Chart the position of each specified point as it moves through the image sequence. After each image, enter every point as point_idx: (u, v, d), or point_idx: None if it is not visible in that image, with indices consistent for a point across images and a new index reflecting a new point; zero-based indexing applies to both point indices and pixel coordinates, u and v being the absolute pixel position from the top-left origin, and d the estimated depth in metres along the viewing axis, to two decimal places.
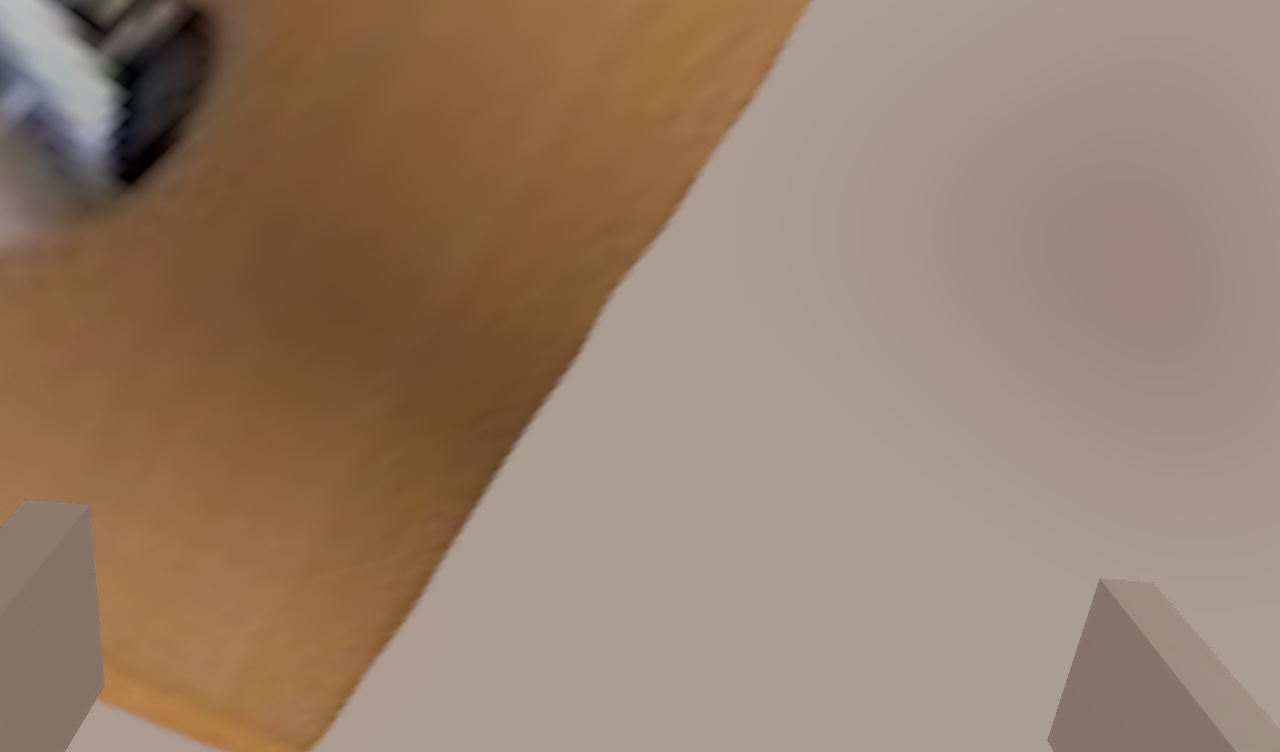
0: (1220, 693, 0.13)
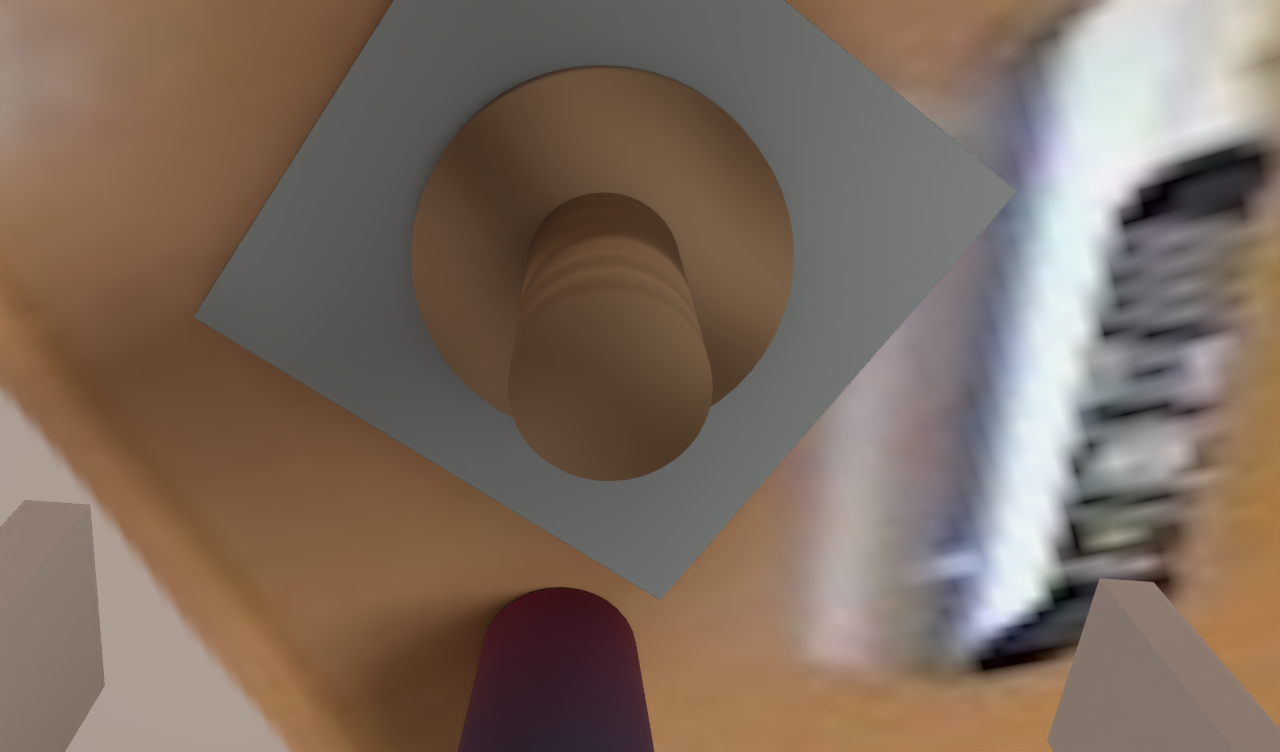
0: (1220, 693, 0.13)
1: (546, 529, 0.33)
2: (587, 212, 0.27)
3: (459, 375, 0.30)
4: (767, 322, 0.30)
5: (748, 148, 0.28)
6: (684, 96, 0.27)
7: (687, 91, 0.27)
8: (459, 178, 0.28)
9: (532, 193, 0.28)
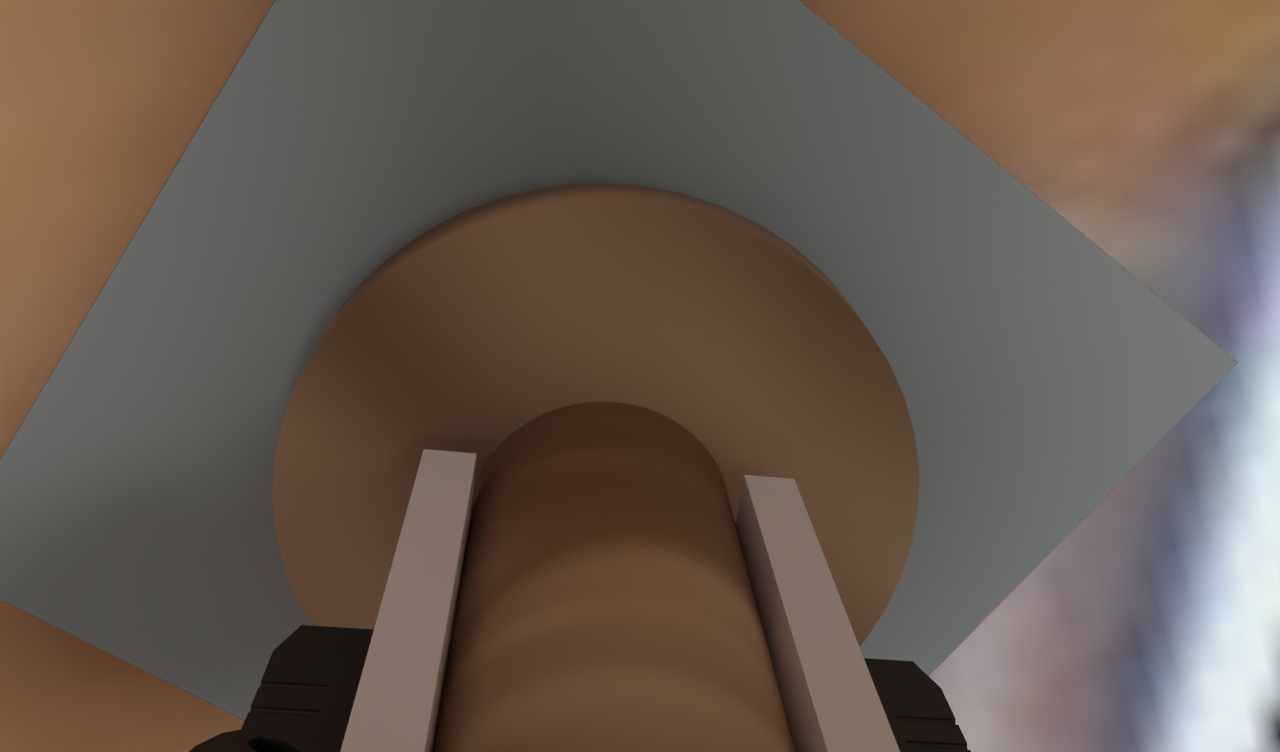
0: (798, 562, 0.14)
1: None
2: (572, 461, 0.15)
3: None
4: (870, 596, 0.18)
5: (849, 328, 0.16)
6: (741, 244, 0.16)
7: (747, 236, 0.16)
8: (351, 381, 0.16)
9: (478, 404, 0.16)
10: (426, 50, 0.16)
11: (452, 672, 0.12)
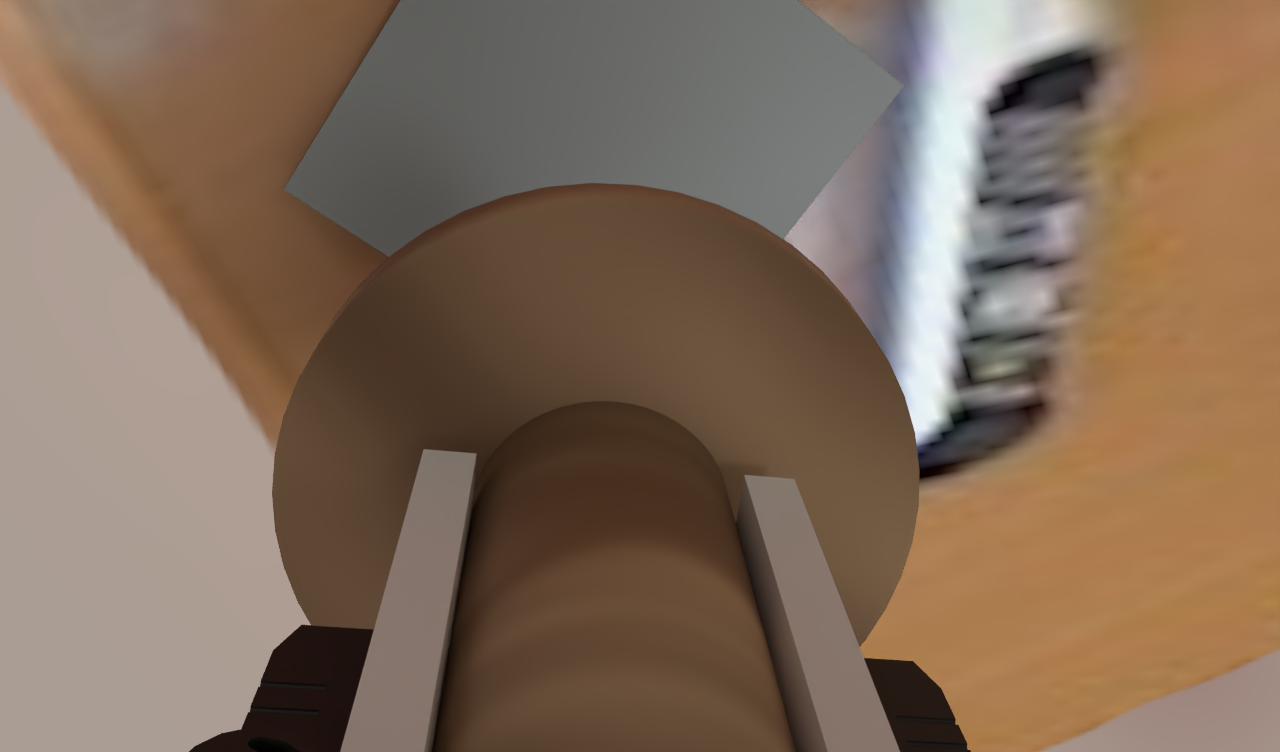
0: (798, 561, 0.14)
1: None
2: (572, 460, 0.15)
3: None
4: (871, 595, 0.18)
5: (849, 328, 0.16)
6: (741, 244, 0.16)
7: (747, 235, 0.16)
8: (351, 381, 0.16)
9: (478, 404, 0.16)
10: None
11: (452, 671, 0.12)
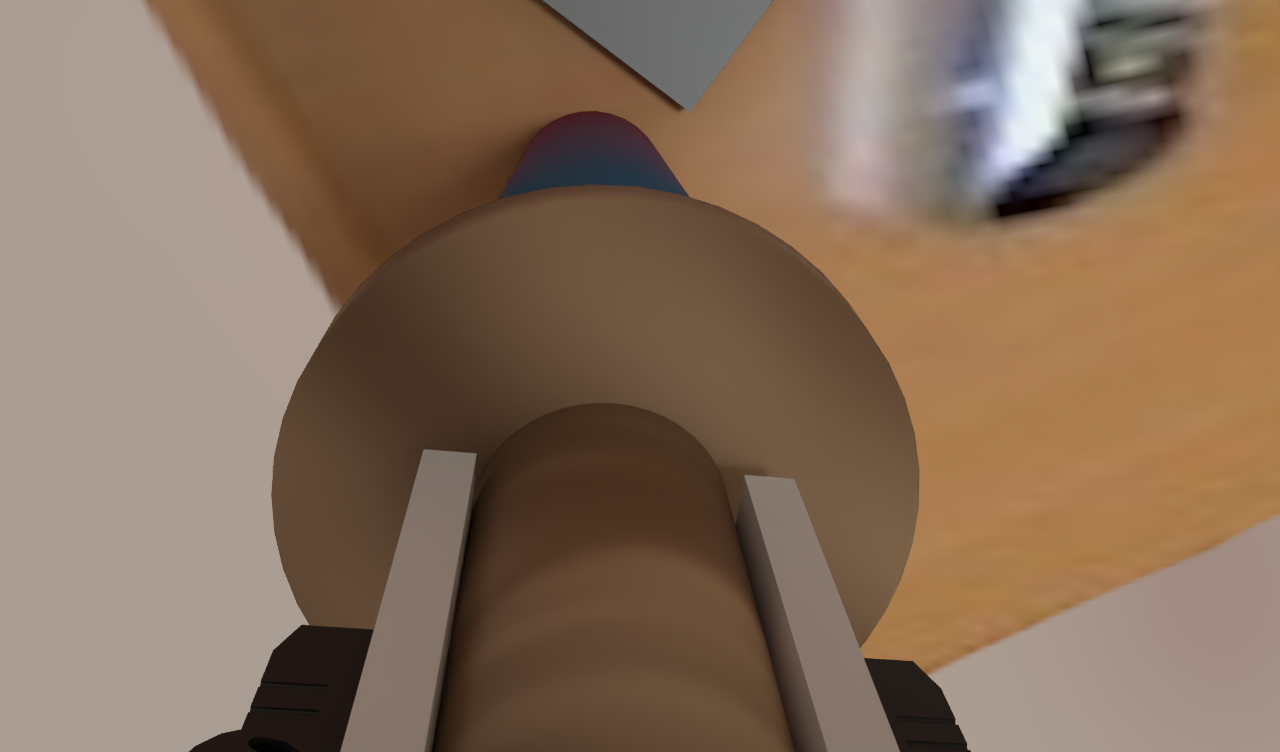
0: (799, 561, 0.14)
1: (581, 27, 0.35)
2: (572, 462, 0.15)
3: None
4: (870, 598, 0.18)
5: (849, 329, 0.16)
6: (742, 246, 0.16)
7: (747, 237, 0.16)
8: (350, 383, 0.16)
9: (478, 405, 0.16)
10: None
11: (452, 674, 0.12)
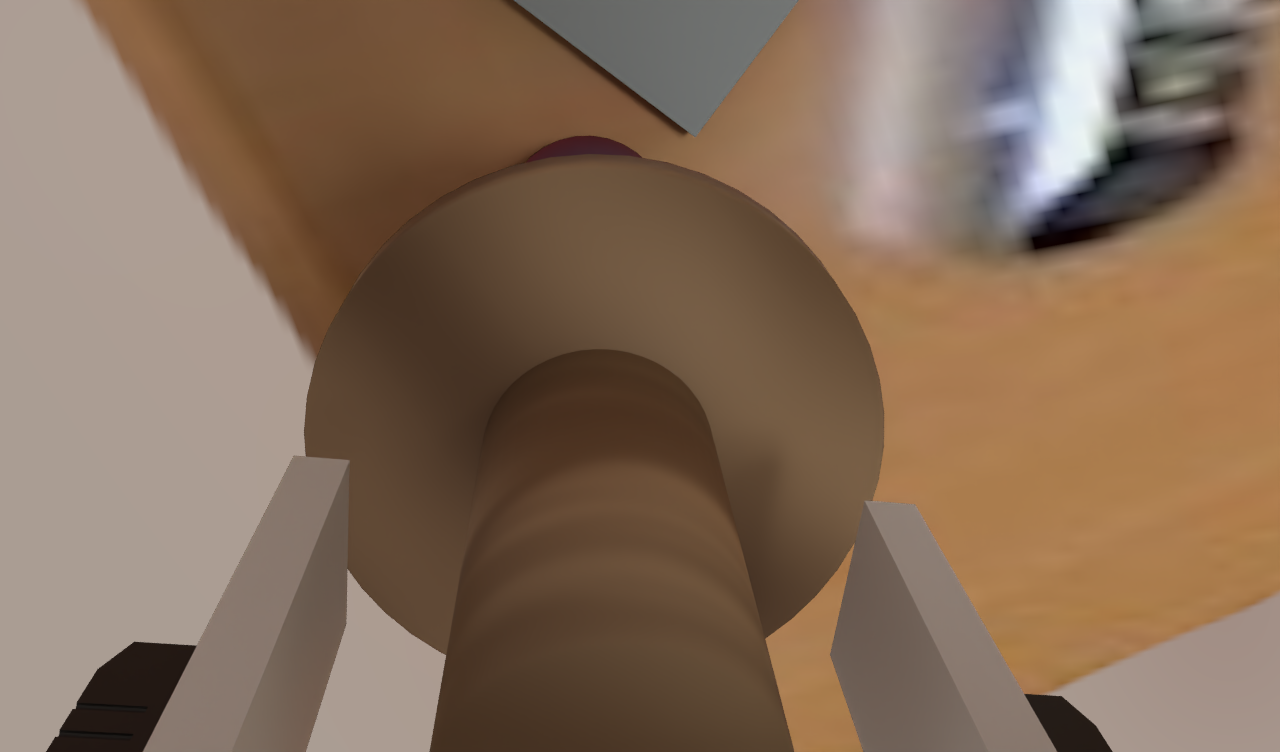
0: (938, 593, 0.14)
1: (575, 44, 0.31)
2: (572, 396, 0.17)
3: (384, 605, 0.20)
4: (841, 529, 0.20)
5: (820, 283, 0.18)
6: (723, 207, 0.18)
7: (728, 199, 0.18)
8: (375, 330, 0.18)
9: (488, 351, 0.18)
10: None
11: (469, 567, 0.14)
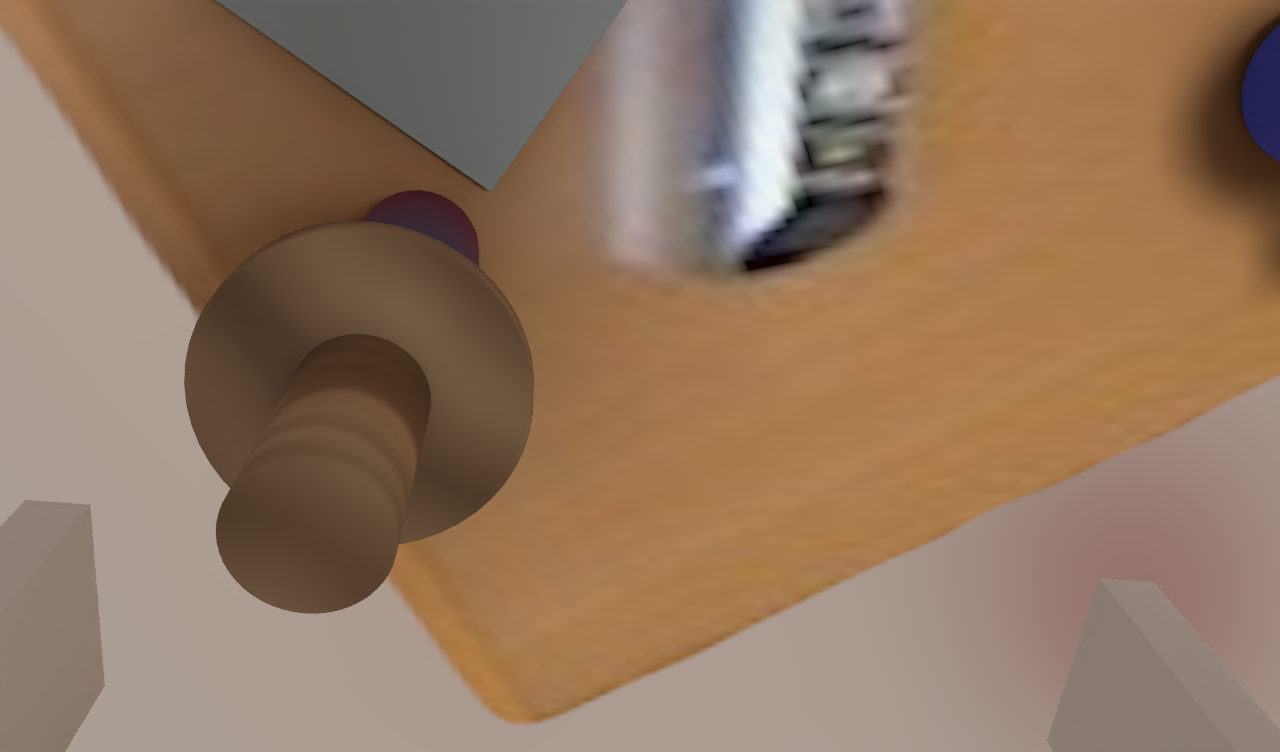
0: (1220, 693, 0.13)
1: (401, 128, 0.44)
2: (330, 359, 0.30)
3: None
4: (514, 443, 0.33)
5: (483, 295, 0.32)
6: (422, 252, 0.31)
7: (424, 248, 0.31)
8: (224, 323, 0.31)
9: (291, 335, 0.32)
10: None
11: None
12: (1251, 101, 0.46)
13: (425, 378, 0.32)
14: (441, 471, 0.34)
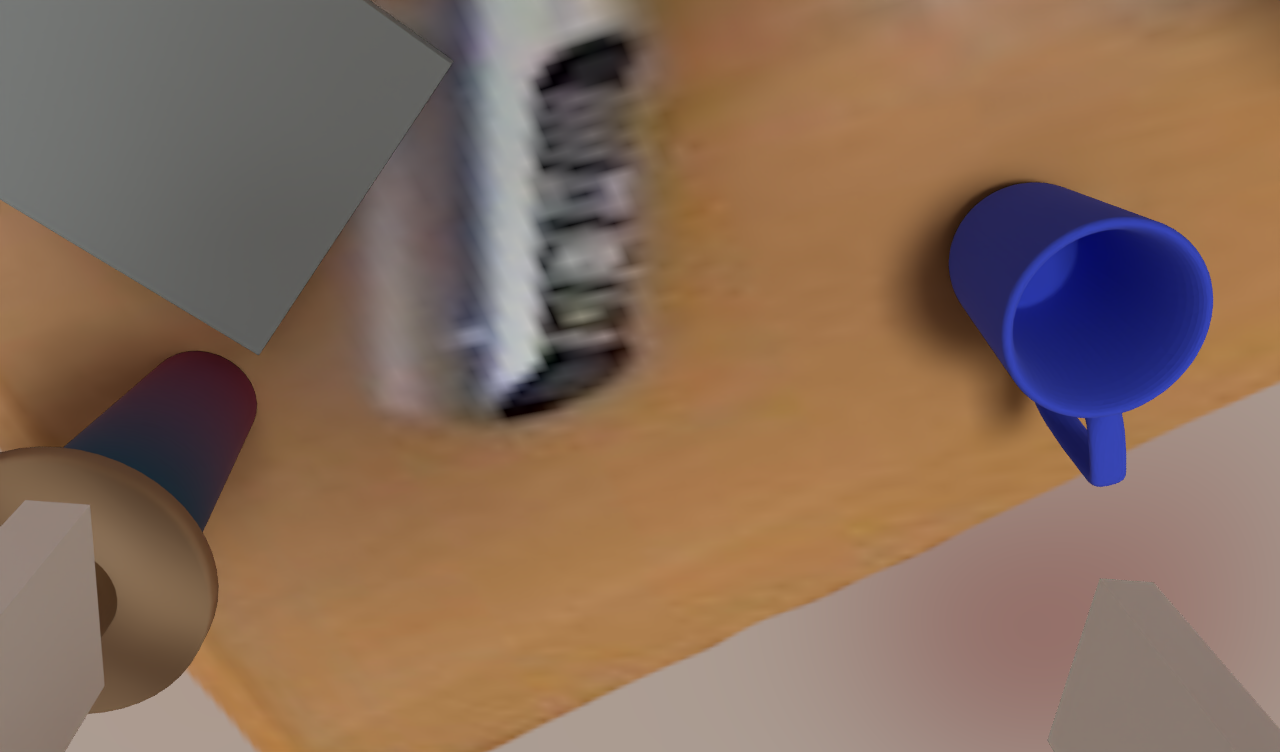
0: (1220, 693, 0.13)
1: (172, 302, 0.49)
2: None
3: None
4: (195, 630, 0.38)
5: (151, 512, 0.36)
6: (93, 478, 0.36)
7: (94, 475, 0.36)
8: None
9: None
10: None
11: None
12: (951, 273, 0.50)
13: (108, 579, 0.37)
14: (133, 653, 0.39)
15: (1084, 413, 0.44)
